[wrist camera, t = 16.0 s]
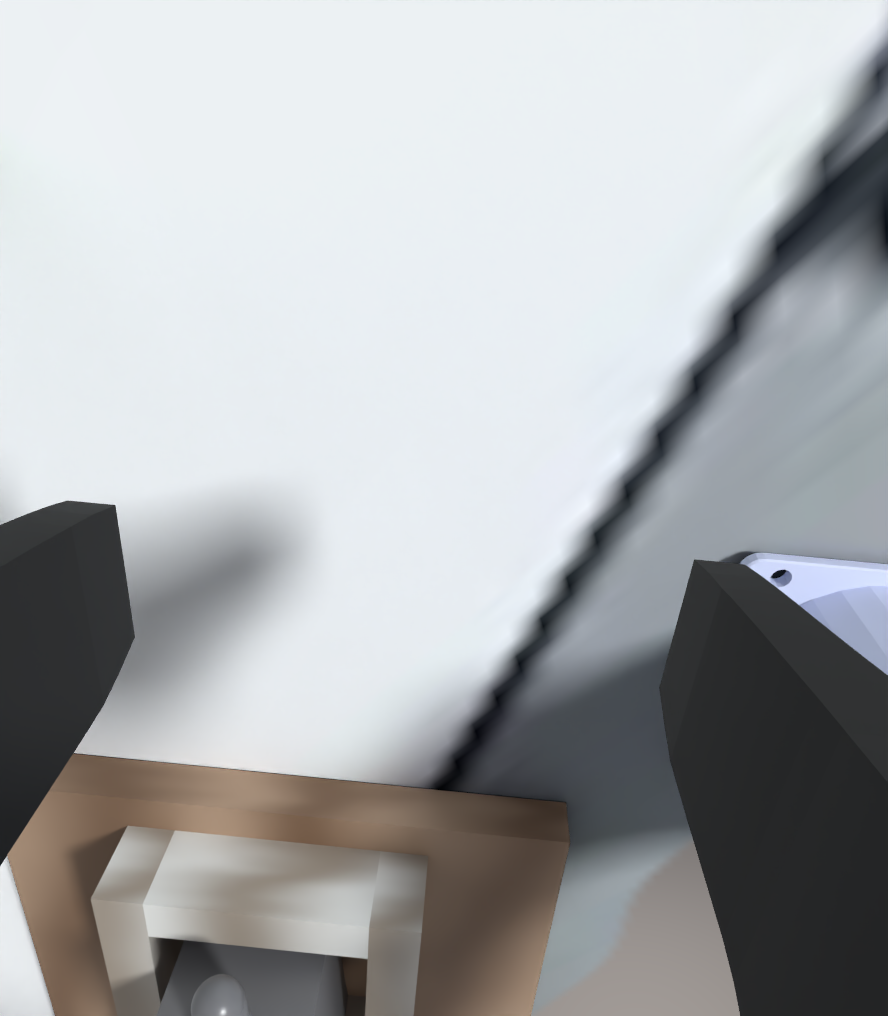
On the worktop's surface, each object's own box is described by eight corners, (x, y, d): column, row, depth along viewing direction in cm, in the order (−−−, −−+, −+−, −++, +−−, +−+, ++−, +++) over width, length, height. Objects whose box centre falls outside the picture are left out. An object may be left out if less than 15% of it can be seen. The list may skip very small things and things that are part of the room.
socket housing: (566, 802, 25) (577, 920, 21) (501, 1102, 34) (501, 1220, 30) (13, 748, 25) (-67, 855, 21) (96, 1059, 34) (50, 1171, 30)
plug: (330, 844, 24) (286, 1046, 19) (351, 972, 27) (318, 1176, 22) (190, 840, 24) (108, 1039, 19) (227, 968, 27) (166, 1168, 22)
